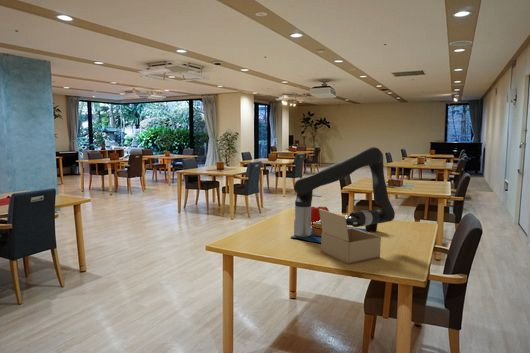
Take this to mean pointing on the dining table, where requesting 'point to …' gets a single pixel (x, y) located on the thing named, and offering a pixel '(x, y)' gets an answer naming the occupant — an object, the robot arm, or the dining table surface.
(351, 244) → the carton
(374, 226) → the coffee mug
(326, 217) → the carton flap
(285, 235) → the dining table surface
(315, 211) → the tomato
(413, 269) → the dining table surface
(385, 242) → the dining table surface
